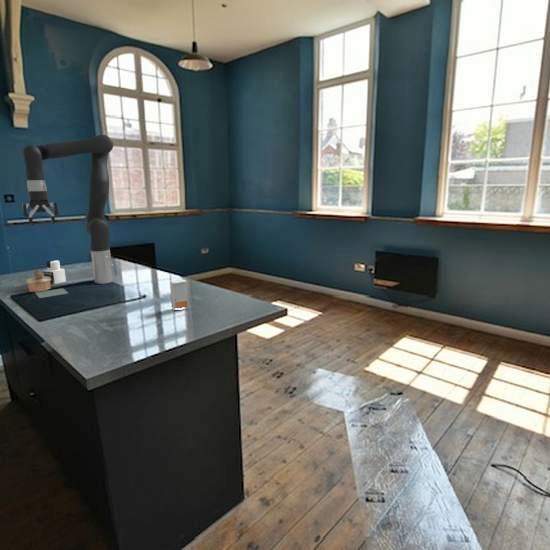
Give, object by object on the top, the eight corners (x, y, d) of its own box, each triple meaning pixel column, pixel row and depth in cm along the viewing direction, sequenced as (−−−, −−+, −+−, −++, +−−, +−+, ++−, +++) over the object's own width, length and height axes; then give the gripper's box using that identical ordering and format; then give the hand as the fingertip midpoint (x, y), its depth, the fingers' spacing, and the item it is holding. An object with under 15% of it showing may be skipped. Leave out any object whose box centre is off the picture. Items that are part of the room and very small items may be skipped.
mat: (63, 289, 189) (62, 288, 189) (68, 294, 180) (68, 293, 180) (35, 293, 182) (35, 292, 182) (39, 299, 173) (39, 298, 173)
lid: (48, 277, 194) (47, 267, 193) (53, 281, 186) (51, 270, 185) (25, 281, 188) (23, 270, 186) (28, 285, 180) (26, 273, 179)
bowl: (48, 286, 194) (47, 278, 193) (52, 290, 188) (50, 281, 186) (28, 289, 189) (26, 281, 188) (31, 293, 182) (29, 284, 181)
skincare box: (174, 311, 153) (172, 283, 150) (171, 308, 157) (169, 280, 154) (189, 309, 156) (187, 281, 153) (186, 306, 160) (184, 279, 157)
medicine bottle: (45, 283, 200) (41, 261, 198) (57, 280, 207) (53, 259, 204) (54, 284, 198) (51, 262, 195) (66, 281, 204) (63, 259, 201)
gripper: (52, 190, 185) (57, 223, 189) (18, 190, 177) (24, 225, 180) (56, 190, 180) (61, 224, 184) (20, 190, 171) (26, 226, 175)
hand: (42, 224), depth 182 cm, fingers open, 8 cm apart
